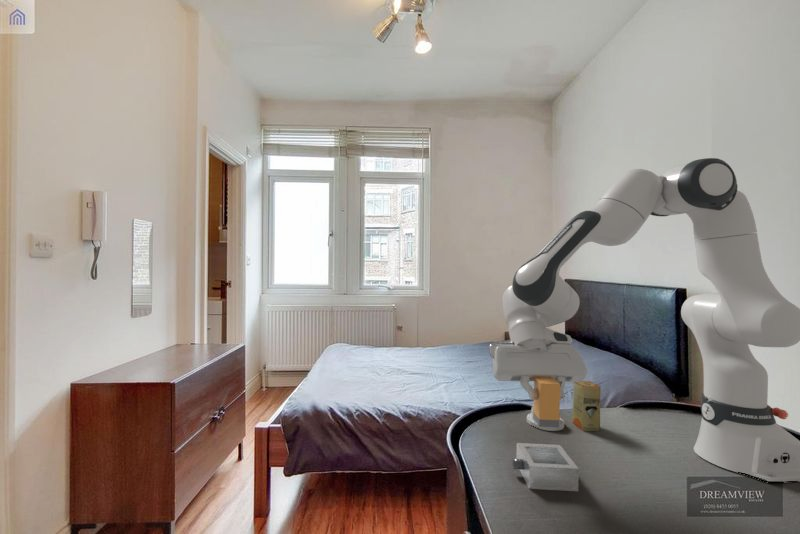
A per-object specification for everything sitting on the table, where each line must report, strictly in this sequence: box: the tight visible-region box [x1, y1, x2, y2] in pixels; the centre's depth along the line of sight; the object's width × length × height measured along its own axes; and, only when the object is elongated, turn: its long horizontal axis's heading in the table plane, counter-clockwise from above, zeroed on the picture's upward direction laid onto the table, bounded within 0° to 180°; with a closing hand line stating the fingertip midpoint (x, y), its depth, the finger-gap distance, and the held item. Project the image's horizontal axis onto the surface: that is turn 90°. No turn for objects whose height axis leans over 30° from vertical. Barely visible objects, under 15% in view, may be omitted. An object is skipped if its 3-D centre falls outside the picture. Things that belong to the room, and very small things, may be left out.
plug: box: [533, 377, 561, 428], centre depth 77 cm, size 4×4×9 cm
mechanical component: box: [526, 405, 565, 432], centre depth 103 cm, size 10×4×10 cm
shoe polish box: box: [572, 380, 602, 432], centre depth 101 cm, size 5×5×12 cm
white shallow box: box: [511, 442, 580, 492], centre depth 77 cm, size 12×10×4 cm
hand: (547, 398), depth 76 cm, fingers closed on plug, 4 cm apart
